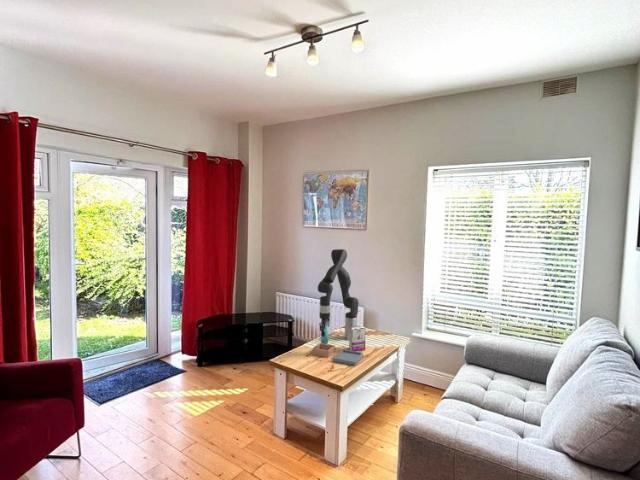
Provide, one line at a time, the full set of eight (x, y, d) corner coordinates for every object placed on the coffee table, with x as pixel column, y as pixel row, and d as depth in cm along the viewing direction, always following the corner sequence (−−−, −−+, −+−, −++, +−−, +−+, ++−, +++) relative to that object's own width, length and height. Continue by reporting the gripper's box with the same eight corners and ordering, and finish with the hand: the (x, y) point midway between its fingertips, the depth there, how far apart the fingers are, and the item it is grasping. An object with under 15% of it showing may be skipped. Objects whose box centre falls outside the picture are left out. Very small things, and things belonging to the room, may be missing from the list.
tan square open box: (319, 348, 249) (319, 342, 249) (334, 351, 244) (335, 345, 244) (312, 354, 238) (312, 348, 238) (328, 357, 233) (328, 351, 233)
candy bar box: (362, 347, 253) (362, 325, 252) (365, 349, 249) (366, 327, 248) (348, 349, 249) (349, 327, 248) (351, 351, 244) (352, 329, 244)
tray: (342, 352, 243) (342, 349, 243) (362, 356, 237) (363, 352, 237) (333, 361, 226) (333, 358, 226) (354, 365, 220) (355, 362, 220)
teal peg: (322, 340, 244) (322, 324, 243) (329, 341, 242) (329, 325, 241) (319, 343, 239) (320, 326, 239) (326, 344, 237) (326, 327, 237)
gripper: (323, 308, 247) (323, 331, 248) (315, 313, 234) (315, 337, 235) (333, 309, 244) (333, 332, 245) (325, 314, 231) (325, 339, 232)
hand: (324, 334), depth 240 cm, fingers closed on teal peg, 5 cm apart
